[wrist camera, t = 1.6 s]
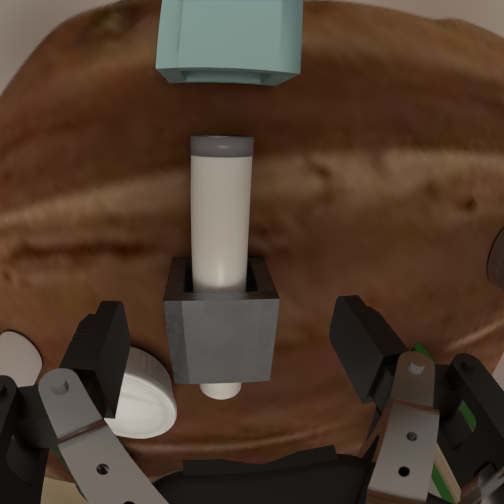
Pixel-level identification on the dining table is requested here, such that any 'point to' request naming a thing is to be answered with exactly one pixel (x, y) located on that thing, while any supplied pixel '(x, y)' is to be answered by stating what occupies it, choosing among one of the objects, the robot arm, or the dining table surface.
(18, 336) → the can
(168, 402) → the ramekin
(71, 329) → the dining table surface
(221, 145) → the tube
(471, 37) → the dining table surface
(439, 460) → the hardback book
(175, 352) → the sleeve
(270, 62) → the socket
